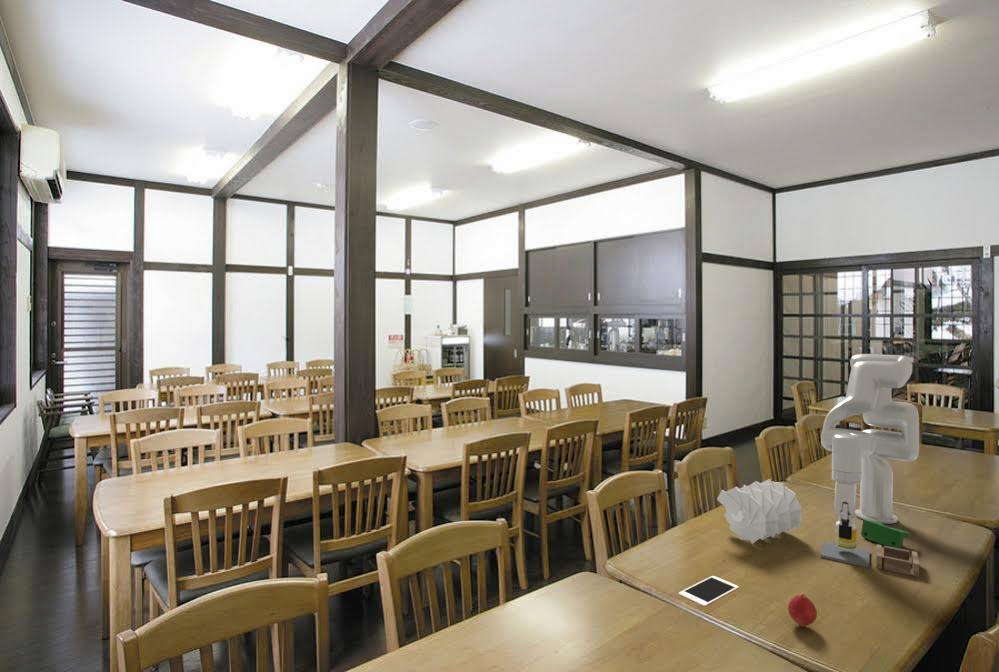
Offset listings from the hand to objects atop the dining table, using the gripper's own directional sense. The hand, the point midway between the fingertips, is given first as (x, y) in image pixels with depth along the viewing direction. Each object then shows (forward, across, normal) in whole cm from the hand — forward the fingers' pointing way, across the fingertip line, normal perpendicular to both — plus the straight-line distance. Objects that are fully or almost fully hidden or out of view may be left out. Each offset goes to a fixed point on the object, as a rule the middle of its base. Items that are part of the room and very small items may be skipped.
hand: (845, 534), depth 162 cm
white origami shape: (+7, -2, -24) cm, 24 cm away
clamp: (+7, -18, +10) cm, 22 cm away
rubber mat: (+6, 0, 0) cm, 6 cm away
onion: (+6, +50, -6) cm, 51 cm away
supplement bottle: (+4, 0, 0) cm, 4 cm away
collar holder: (+6, 0, +12) cm, 14 cm away
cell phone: (+7, +45, -28) cm, 54 cm away
